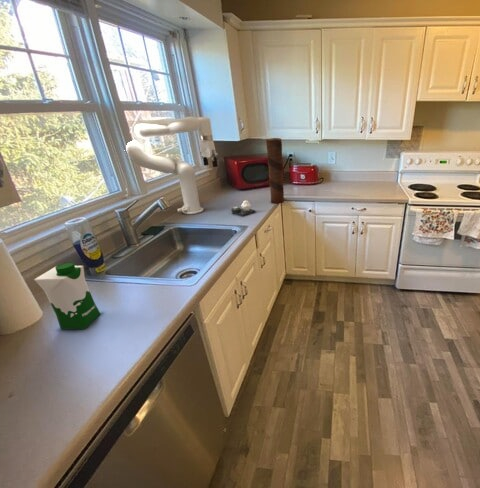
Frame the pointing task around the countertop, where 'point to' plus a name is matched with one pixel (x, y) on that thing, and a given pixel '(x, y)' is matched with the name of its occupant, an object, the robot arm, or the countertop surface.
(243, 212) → the scale
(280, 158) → the wafer roll
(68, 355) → the countertop surface
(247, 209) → the white rounded lump
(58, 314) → the milk carton
